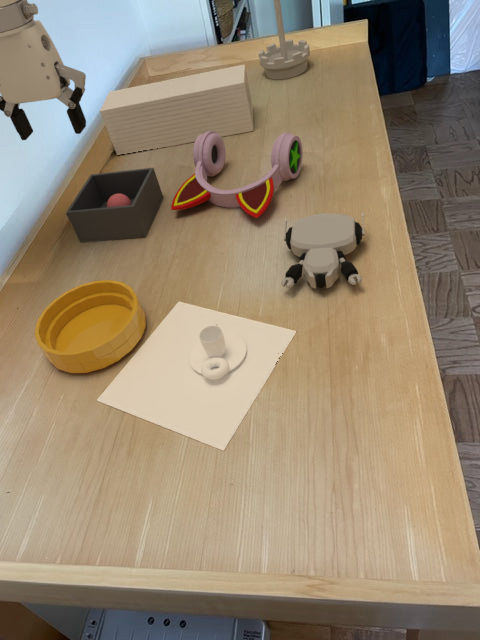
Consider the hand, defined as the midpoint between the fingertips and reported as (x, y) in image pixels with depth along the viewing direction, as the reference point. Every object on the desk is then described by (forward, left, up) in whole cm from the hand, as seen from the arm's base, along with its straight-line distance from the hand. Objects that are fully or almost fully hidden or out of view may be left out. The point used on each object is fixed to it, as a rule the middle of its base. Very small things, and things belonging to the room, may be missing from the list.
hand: (54, 133), depth 87 cm
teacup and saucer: (+26, -33, -20) cm, 47 cm away
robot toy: (+42, -13, -20) cm, 49 cm away
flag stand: (+29, +68, -20) cm, 77 cm away
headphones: (+25, +10, -20) cm, 34 cm away
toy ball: (+4, +4, -17) cm, 18 cm away
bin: (+3, +4, -20) cm, 21 cm away
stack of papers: (+8, +38, -20) cm, 44 cm away
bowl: (+9, -27, -20) cm, 35 cm away
